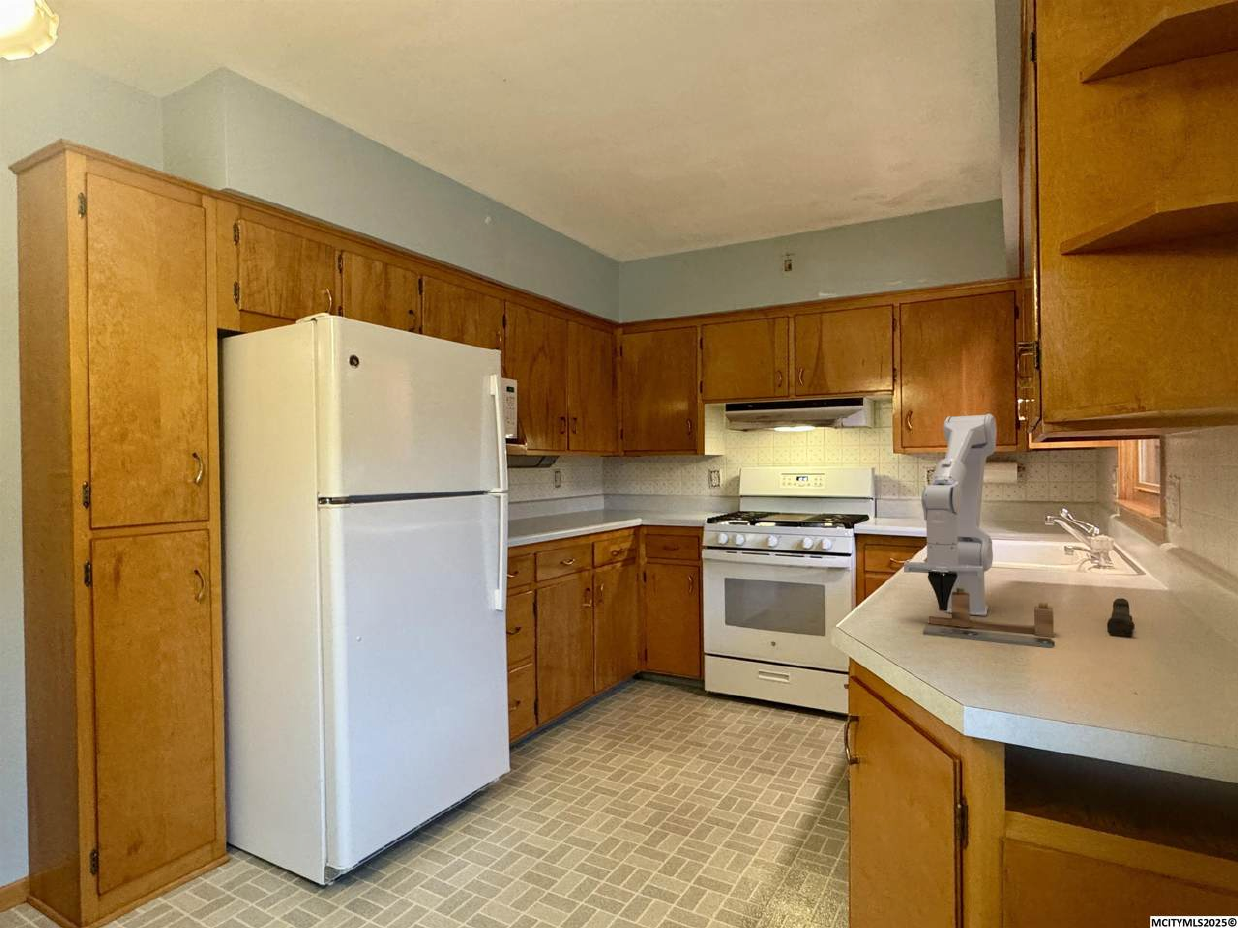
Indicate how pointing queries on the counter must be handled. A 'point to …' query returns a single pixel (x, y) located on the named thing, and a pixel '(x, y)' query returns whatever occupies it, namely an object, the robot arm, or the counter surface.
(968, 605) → the sliding head
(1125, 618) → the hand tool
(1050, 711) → the counter surface
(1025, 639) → the steel strip
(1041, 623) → the bar
